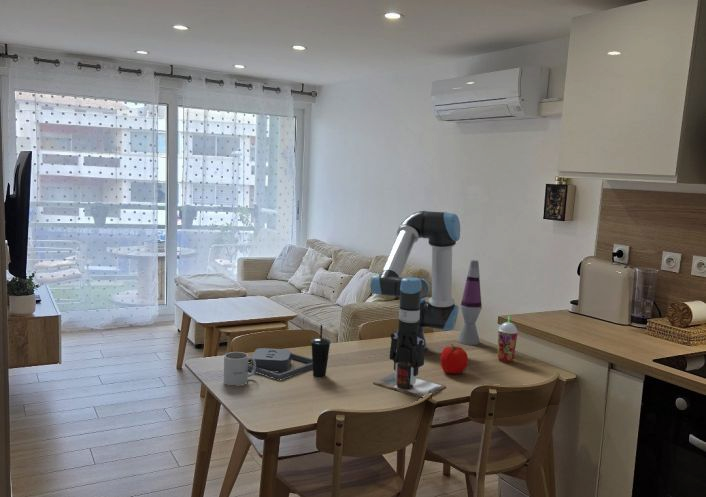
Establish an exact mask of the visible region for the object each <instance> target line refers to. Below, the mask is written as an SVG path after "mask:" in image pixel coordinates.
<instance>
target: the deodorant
mask: <svg viewBox="0 0 706 497" xmlns="http://www.w3.org/2000/svg"><path fill="white" fill-rule="evenodd" d="M411 356H412V349H409V346H407V345H404V346H402V347H400V346H399V357H398V373H397V387H398V388H401V389H411V388H413V385H411V384H410V378H411V367H413V363H412V358H411Z"/></svg>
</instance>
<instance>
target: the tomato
mask: <svg viewBox="0 0 706 497" xmlns="http://www.w3.org/2000/svg"><path fill="white" fill-rule="evenodd" d="M440 353H441V354H440V359H439V360H440V367H441V368H442V370H443V371H444V372H445V373H447V374H460V373H463V372H464V370H465V369H466V368H467V367H468V364H469V358H468V354H467V352H466V351H465V350H464V349H463V348H462V347H460V346H457V345H453V344H451V346H446V347H444V348H443V350H442V351H441V352H440Z"/></svg>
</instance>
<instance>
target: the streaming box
mask: <svg viewBox="0 0 706 497" xmlns="http://www.w3.org/2000/svg"><path fill="white" fill-rule="evenodd" d="M291 353H292V350H290V349H285V348H283V349H282V348H267V347H263V348H260V347H259V348H256V349H255V351H254V352H253V353H252V358H254V359H255V362H256V367H259V368H262V369H265V370H268V371H278V372H277V373H284V371H286V372H287V371H289V370H290V366H291V364H290V363H291V362H292V358H291ZM250 365H253V361H252V362H251V364H250Z"/></svg>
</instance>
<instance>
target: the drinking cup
mask: <svg viewBox="0 0 706 497" xmlns="http://www.w3.org/2000/svg"><path fill="white" fill-rule="evenodd" d="M319 334H320V335H319V337H316V338H312V339H311V340H310V343H311V357H312V358H311V359H312V363H313V368H312V375H313V377H314V378H324V377H326V376H327V368H328V367H327V366H328V360H329V354H330V345H331V342H332V341H331V340H330V339H328V338H326V337H323V324H320V331H319Z"/></svg>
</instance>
